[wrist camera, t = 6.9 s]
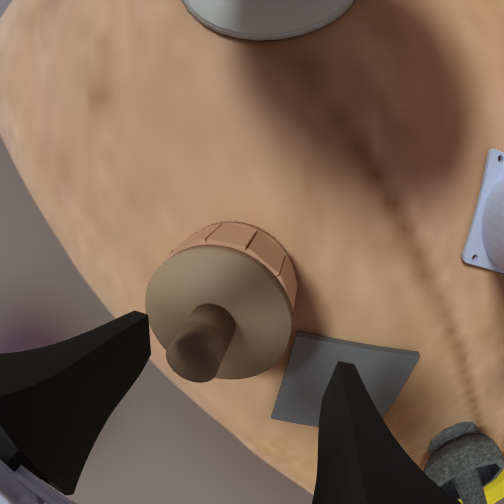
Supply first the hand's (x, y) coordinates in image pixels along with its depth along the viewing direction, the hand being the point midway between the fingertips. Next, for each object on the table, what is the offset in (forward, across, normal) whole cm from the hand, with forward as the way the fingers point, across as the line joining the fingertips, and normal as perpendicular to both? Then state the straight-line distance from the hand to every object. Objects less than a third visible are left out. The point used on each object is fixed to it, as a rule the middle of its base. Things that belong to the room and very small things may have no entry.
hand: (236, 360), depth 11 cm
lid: (+6, +2, +2) cm, 7 cm away
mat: (+10, -8, +10) cm, 16 cm away
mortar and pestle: (+11, -24, +17) cm, 32 cm away
